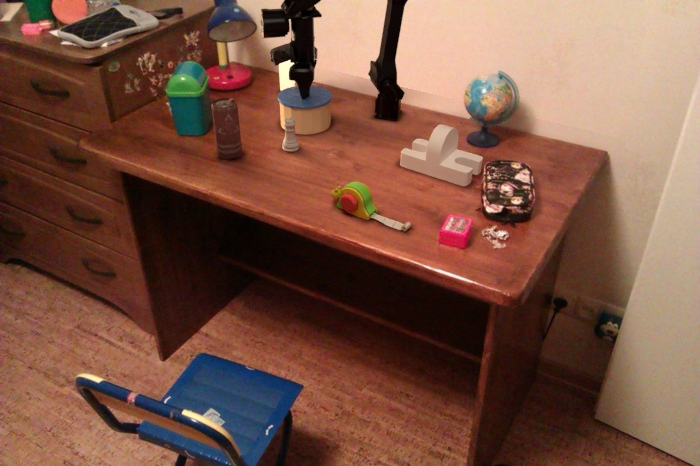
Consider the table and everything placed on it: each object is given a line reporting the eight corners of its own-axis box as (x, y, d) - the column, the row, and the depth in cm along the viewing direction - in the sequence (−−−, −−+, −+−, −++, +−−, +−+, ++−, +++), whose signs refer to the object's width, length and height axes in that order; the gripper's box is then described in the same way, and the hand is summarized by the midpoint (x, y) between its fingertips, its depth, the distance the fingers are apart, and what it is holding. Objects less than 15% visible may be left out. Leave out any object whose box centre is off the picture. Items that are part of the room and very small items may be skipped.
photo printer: (308, 99, 180) (306, 58, 173) (295, 102, 178) (293, 61, 171) (290, 88, 187) (288, 48, 179) (278, 91, 185) (275, 51, 177)
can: (247, 151, 153) (242, 99, 145) (233, 162, 148) (227, 109, 140) (227, 146, 155) (221, 94, 147) (212, 157, 150) (205, 104, 142)
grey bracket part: (465, 187, 140) (471, 145, 133) (398, 165, 148) (400, 125, 141) (482, 170, 146) (488, 129, 140) (416, 150, 154) (420, 111, 148)
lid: (329, 88, 169) (329, 68, 166) (334, 110, 157) (334, 89, 154) (277, 90, 168) (276, 70, 164) (278, 112, 156) (276, 91, 152)
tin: (328, 112, 172) (328, 87, 168) (332, 133, 161) (332, 107, 157) (280, 114, 171) (278, 88, 167) (281, 135, 160) (279, 109, 156)
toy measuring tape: (341, 195, 136) (341, 169, 132) (416, 224, 127) (418, 197, 123) (324, 208, 132) (323, 182, 128) (400, 238, 123) (402, 211, 119)
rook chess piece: (302, 146, 155) (301, 117, 151) (295, 153, 152) (294, 124, 147) (286, 143, 157) (284, 114, 152) (279, 151, 153) (277, 122, 148)
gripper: (274, 23, 160) (278, 80, 169) (266, 47, 145) (270, 107, 154) (316, 24, 160) (318, 80, 169) (312, 47, 145) (314, 108, 154)
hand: (304, 93), depth 161 cm, fingers open, 7 cm apart
